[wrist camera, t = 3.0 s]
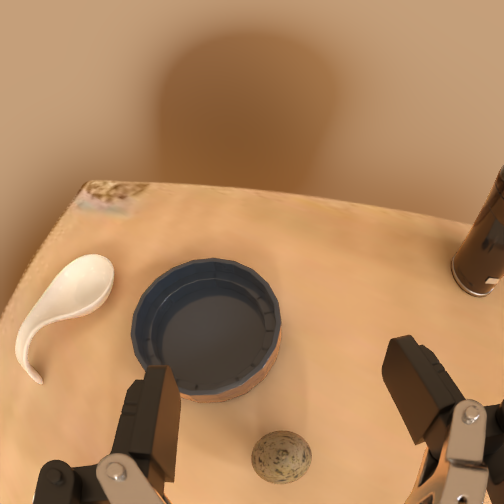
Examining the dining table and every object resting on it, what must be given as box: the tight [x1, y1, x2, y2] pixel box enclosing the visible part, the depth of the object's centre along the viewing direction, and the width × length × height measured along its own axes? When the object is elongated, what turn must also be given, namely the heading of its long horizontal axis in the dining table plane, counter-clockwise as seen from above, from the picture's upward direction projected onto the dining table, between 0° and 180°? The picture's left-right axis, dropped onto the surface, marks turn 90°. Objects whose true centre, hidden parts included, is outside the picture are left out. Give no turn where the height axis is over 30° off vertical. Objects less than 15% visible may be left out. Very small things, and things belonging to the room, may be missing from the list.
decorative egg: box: [252, 431, 312, 484], centre depth 23 cm, size 6×6×10 cm
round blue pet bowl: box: [131, 258, 281, 403], centre depth 36 cm, size 18×18×5 cm
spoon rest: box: [15, 254, 114, 385], centre depth 37 cm, size 24×12×7 cm, turn 156°
